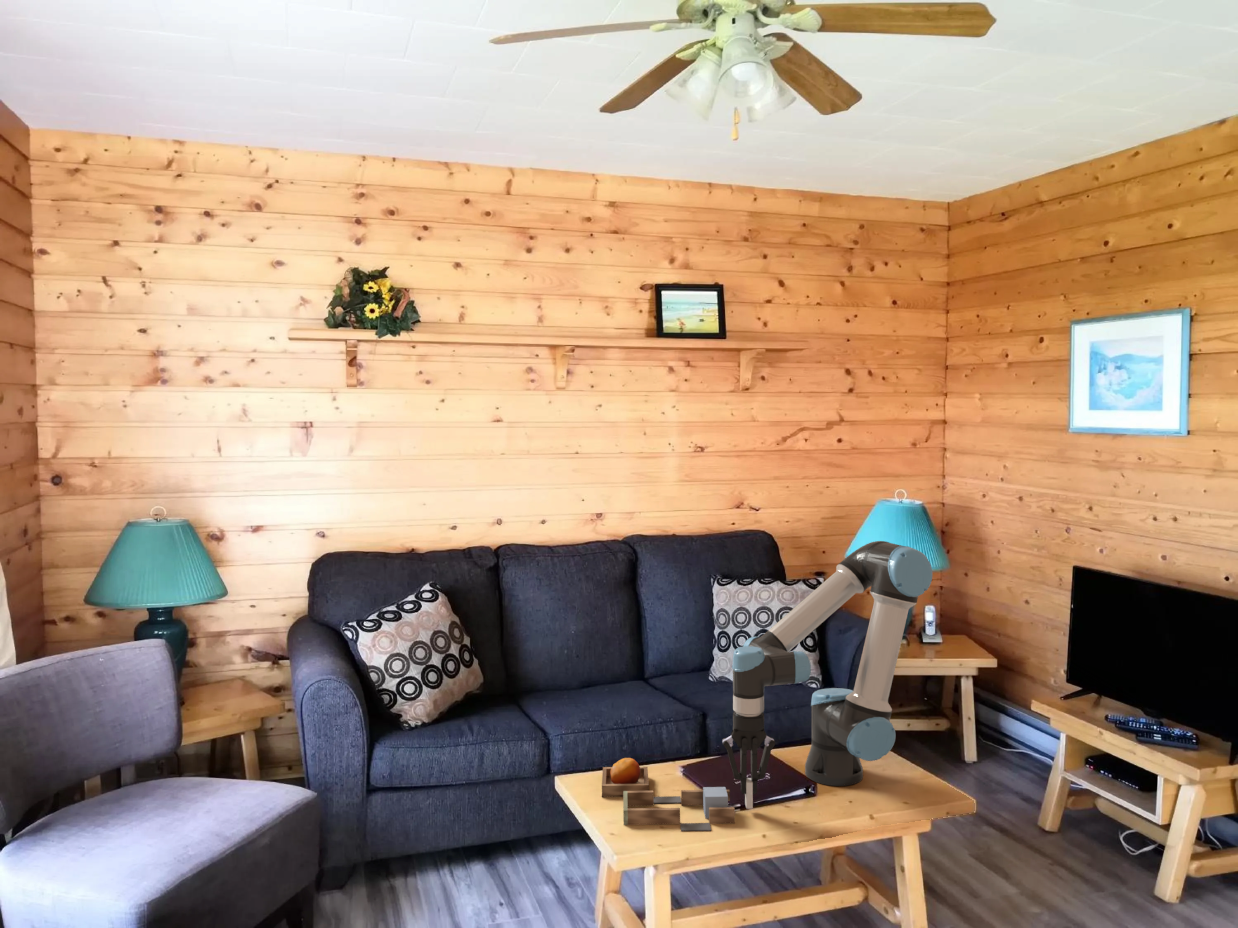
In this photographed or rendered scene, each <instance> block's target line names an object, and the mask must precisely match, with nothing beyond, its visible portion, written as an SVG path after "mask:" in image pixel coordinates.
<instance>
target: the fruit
mask: <svg viewBox="0 0 1238 928" xmlns="http://www.w3.org/2000/svg"><path fill="white" fill-rule="evenodd" d="M611 767H612V768H611V771H610V774H611V781H612V782H613V783H614V784H636V783H637V782H638V780H639V777H640V767H641V766H640V765H639V763H638V762H637V761H636V760H635V758H631V757H624V758H621V759H619V760H618V761H616V762H615V763H613V765H612V766H611ZM639 783H640V782H639Z"/></svg>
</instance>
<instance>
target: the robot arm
mask: <svg viewBox="0 0 1238 928" xmlns="http://www.w3.org/2000/svg"><path fill="white" fill-rule="evenodd" d="M835 568H836V570H835V572H834V573H833V574H832V575H830V576H829V577H828V578H827V579H826V580H825V581H823V582H822V583H821V584H820V585H818V587H817V588H815V589H814V590H813V591H812V592H811V593H810V594H808V595H807V596H806V597H805V598H804V599H803V600H802V601H801V602H799V603H798V604H797V605H796V606H795V607H793V608H792V609H791V610H790V611H789V612H788V613H787V614H785V615H784V616H783V617H782V618H781V619H780V620H779V621H778V622H776V623H775V624H774V625H773V626H772V627H771V628H770V629H768V630H767V631H766V632H765V633H763V635H761V636H752V637H749V638H747V639H746V641H745V642H744V644H743V646H739V647H737V648H735V649H734V650H733V655H732V665H731V668H732V669H731V670H732V710H733V712H732V730H731V732H730V736H728V737H724V738H722V740H721V742H722V745H723V746H724V748H725V750H726V751H727V755H728V758H729V759H728V760H729V763H730V766H731V769H732V774H733V778H734V779H735V780H739V781H740V792H741V795H744V805H745V808H746V809H747V810H748V809H749V810H750V809H753V808H754V807H753V806H754V803H753V802H754V800H753V799H754V798H753V797H754V796H753V795H756V794H757V792H758V781H759V780H764V779H765V777H766V774H767V773H766V772H767V770H768V769H767V768H768V765H769V761H770V757H771V752H772V750H773V749H774V747H775V745H776V741H775V739H774V738H773V737H772V736H771V737H770V736H768V735H767V732H766V730H765V713H764V711H765V687H771V686H781V685H792V684H794V685H797V684H799V683H804V682H807V681H808V680H809V679H810V677H811V674H812V665H811V661H810V658H809V656H808V654H806V653H805V652H804V651H803V650H802V651H801V650H799V651H797V650H793V651H791V650H792V649H794V647H796V646H797V645H798V644H799V643H801V642H802V641H803V640H804V639H805V638H806V637H807V636H809V635H810V634H811V633H812V632H813V631H814V630H816V629H817V628H818V627H819V626H821V625H822V623H824V622H825V621H826V620H827V619H828V618H829V617H830V616H832V615H833V614H834V613H835V612H836V611H837V610H838V609H840V608H841V607H842V606H843V605H844V604H845V603H846V602H848V601H849V600H850V599H851V598H852V597H854V595H856V594H863V593H864V592H866V591H867V589H869V588H870V591H869V593H870V595H871V596H872V598H873V606H872V611H871V614H870V619H869V623H868V627H867V631H866V635H865V639H864V644H863V649H862V653H861V657H860V661H859V665H858V668H857V669H858V670H857V675H856V678H855V683H854V687H853V689H848V688H839V687H838V688H837V687H831V688H829V687H828V688H822V689H817V690H815V691H814V692H813V693H812V695H811V702H810V707H811V709H810V710H811V746H810V748H809V753H808V754H807V758H806V761H805V764H804V773H805V776H806V778H808V779H809V780H811V781H812V782H815V783H817V784H822V785H825V786H834V787H845V786H852V785H855V784H858V783H860V782H861V781H862V780H863V779H864V769H863V765H862V761H865V762H866V761H867V762H873V761H878V760H880V759H882V757H884V756H887V755H888V754H889V752H890V751H891V750H892V749H893V746H894V745H895V742H896V729H895V728H894V726H893V723H892V722H891V716H892V713H893V712H892V711H893V708H892V707H891V705H890V704H889V697H890V693H891V688H892V683H893V680H894V675H895V671H896V668H897V667H896V666H897V662H898V657H899V654H900V650H901V645H902V640H903V636H904V631H905V627H906V623H907V619H908V613H909V610H910V609H911V608H913V607H914V606H915V605H917V603H918V600H919V596H921V595H923V594H925V592H926V591H928V590H929V588H930V587H931V584H932V580H933V568H932V564H931V562H930V561H929V558H928V557H927V556H926V554H924V553H923V552H922V551H920V550H918V549H916V548H913V547H910V546H908V545H907V546H906V545H900V544H895V543H892V542H889V541H886V540H885V541H884V540H877V541H876V540H875V541H871V542H868V543H866V544H864V545H862V546H861V547H859V548H858V549H856V550H854V551H853V552H851V553H850V554H849V555H847V556H846V557H845V558H844V559H842V561H840V562H839V563H838V564H837V565H836V567H835ZM763 742H764V747H763V751H762V757H761V760H760V764H759V766H758V749H759V748H760V746H761V745H762V744H763ZM733 743H735V744H736V746H737V747H738V748H739V751H740V753H739V755H740V757H739V758H740V760H739V762H740V764H739V765H740V766H739V767H740V769H739V770H738V767H737V764H736V763H737V762H736V759H735V756H734V750H733V748H732V747H733V746H734V744H733ZM749 750H750V777H747V776H748V775H747V770H748V768H747V765H748V764H747V762H748V761H747V757H748V756H747V755H748V751H749ZM861 760H862V761H861ZM758 767H759V768H758ZM739 771H740V772H739Z"/></svg>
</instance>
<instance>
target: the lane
mask: <svg viewBox="0 0 1238 928" xmlns="http://www.w3.org/2000/svg"><path fill="white" fill-rule="evenodd" d="M726 791H727V795H728V801H731V796H730V795H731V794H730V793H731V791H730V789H726ZM622 799H623V801H622V802H623V808H622V809H623V810H622V811H623V826H625V825H626V826H627V825H629V826H632V825H635V826H636V825H639V826H640V825H644V826H645V825H680V832H711V831H712V828H711V824H712V825H713V824H719V825H720V824H736V822H735V821H736V820H735V818H736V817H735V812H736V811H735V810H736V809H735V807H733V806H728V807H709V819H708V822H689V823H688V822H686V823H685V822H683V823H682V822H681V807H660V808H659V807H654V806H655V805H657V804H658V805H659V804H661V805H662V804H666V805H667V804H669V805H670V804H681V806H688V807H689V806H703V789H682V790H681V791H680V795H678V796H676V795H675V796H674V795H673V796H672V795H671V796H669V795H668V796H666V795H665V796H654V790H649V791H623V797H622ZM628 807H635V808H628ZM636 807H637V808H636ZM640 807H643V808H640ZM644 807H646V808H644ZM647 807H648V808H647ZM651 807H652V808H651Z"/></svg>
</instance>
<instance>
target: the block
mask: <svg viewBox="0 0 1238 928" xmlns="http://www.w3.org/2000/svg"><path fill="white" fill-rule="evenodd" d="M702 790H703V805H702V808H703V814H704V818H705V820H709V807H729V805H728V795H727V791H726V790H727V788H726V786H703V787H702Z"/></svg>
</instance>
